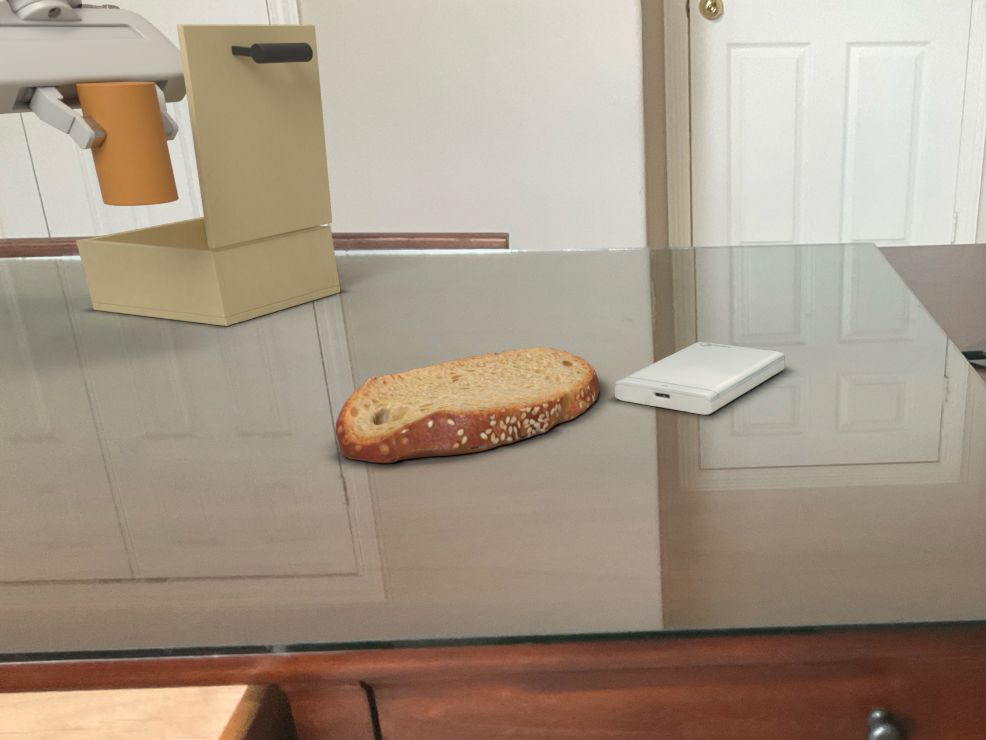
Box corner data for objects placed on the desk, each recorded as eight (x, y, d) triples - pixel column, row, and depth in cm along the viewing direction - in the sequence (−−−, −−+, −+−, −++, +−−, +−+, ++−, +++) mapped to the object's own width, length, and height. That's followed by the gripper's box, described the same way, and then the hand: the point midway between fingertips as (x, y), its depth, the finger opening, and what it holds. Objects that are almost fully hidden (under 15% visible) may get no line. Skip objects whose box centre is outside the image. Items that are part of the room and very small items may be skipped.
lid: (176, 24, 90) (217, 29, 88) (309, 24, 103) (347, 28, 101) (207, 247, 98) (246, 255, 97) (327, 221, 111) (362, 228, 110)
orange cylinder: (110, 208, 86) (81, 85, 82) (98, 199, 90) (70, 82, 86) (185, 202, 89) (161, 83, 85) (170, 194, 93) (147, 80, 89)
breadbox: (93, 310, 107) (75, 240, 105) (215, 279, 120) (203, 216, 118) (226, 326, 101) (211, 252, 98) (340, 292, 114) (330, 226, 111)
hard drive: (696, 340, 89) (613, 378, 80) (785, 352, 86) (711, 393, 76) (696, 359, 90) (614, 400, 80) (785, 372, 87) (711, 416, 77)
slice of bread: (595, 373, 87) (592, 327, 85) (613, 450, 71) (610, 395, 69) (363, 386, 84) (356, 338, 82) (328, 469, 68) (318, 412, 66)
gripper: (116, 35, 97) (219, 154, 97) (-123, 36, 80) (3, 181, 80) (140, -22, 93) (247, 102, 94) (-105, -34, 76) (27, 119, 77)
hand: (133, 139), depth 87 cm, fingers closed on orange cylinder, 5 cm apart
